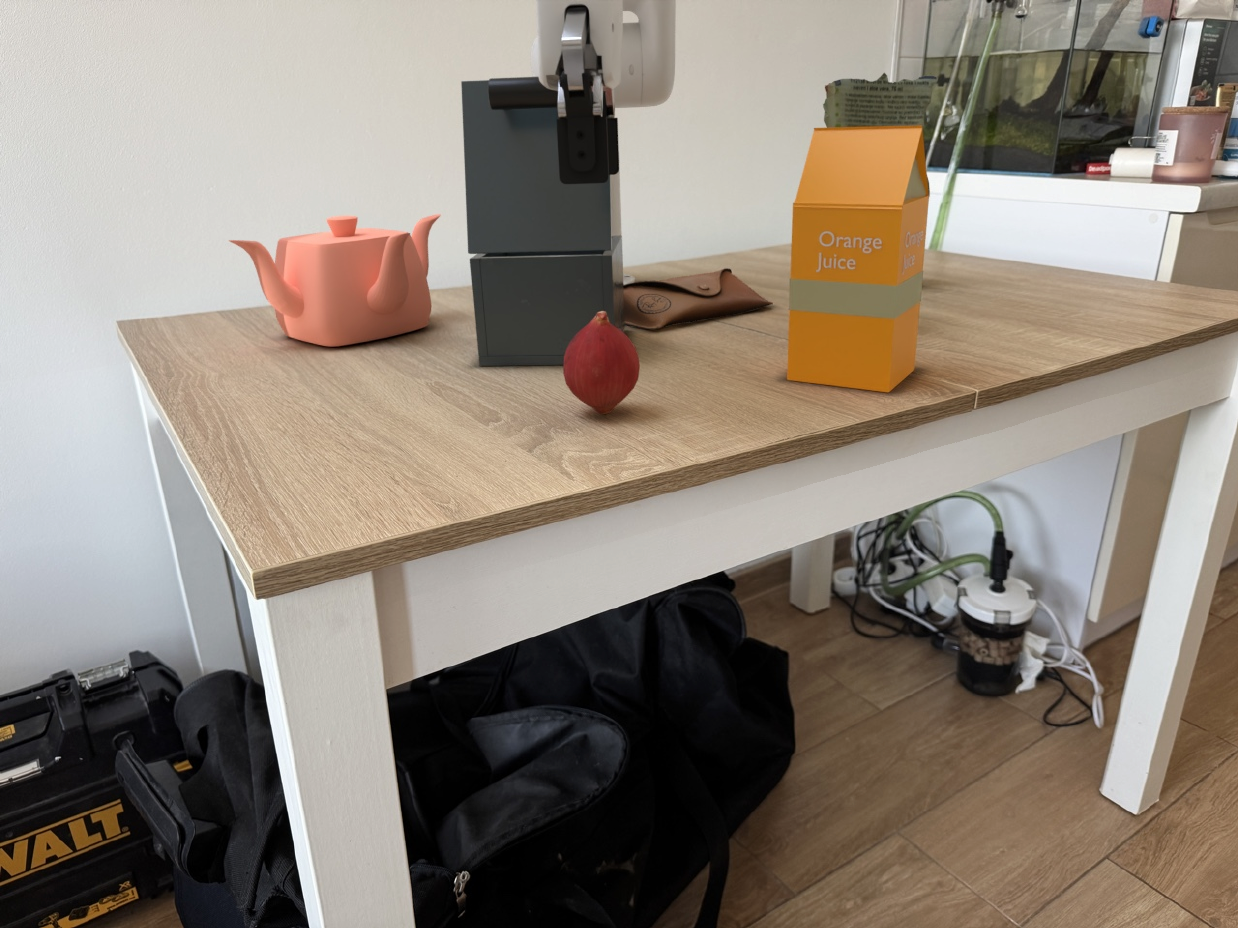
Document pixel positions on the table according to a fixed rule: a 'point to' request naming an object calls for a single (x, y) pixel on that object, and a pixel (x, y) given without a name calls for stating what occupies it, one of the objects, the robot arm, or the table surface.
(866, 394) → the table surface
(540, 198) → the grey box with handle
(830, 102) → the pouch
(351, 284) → the pot
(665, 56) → the robot arm
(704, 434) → the table surface
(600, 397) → the onion
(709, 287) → the sunglasses case
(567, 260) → the dark box
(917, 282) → the orange juice
